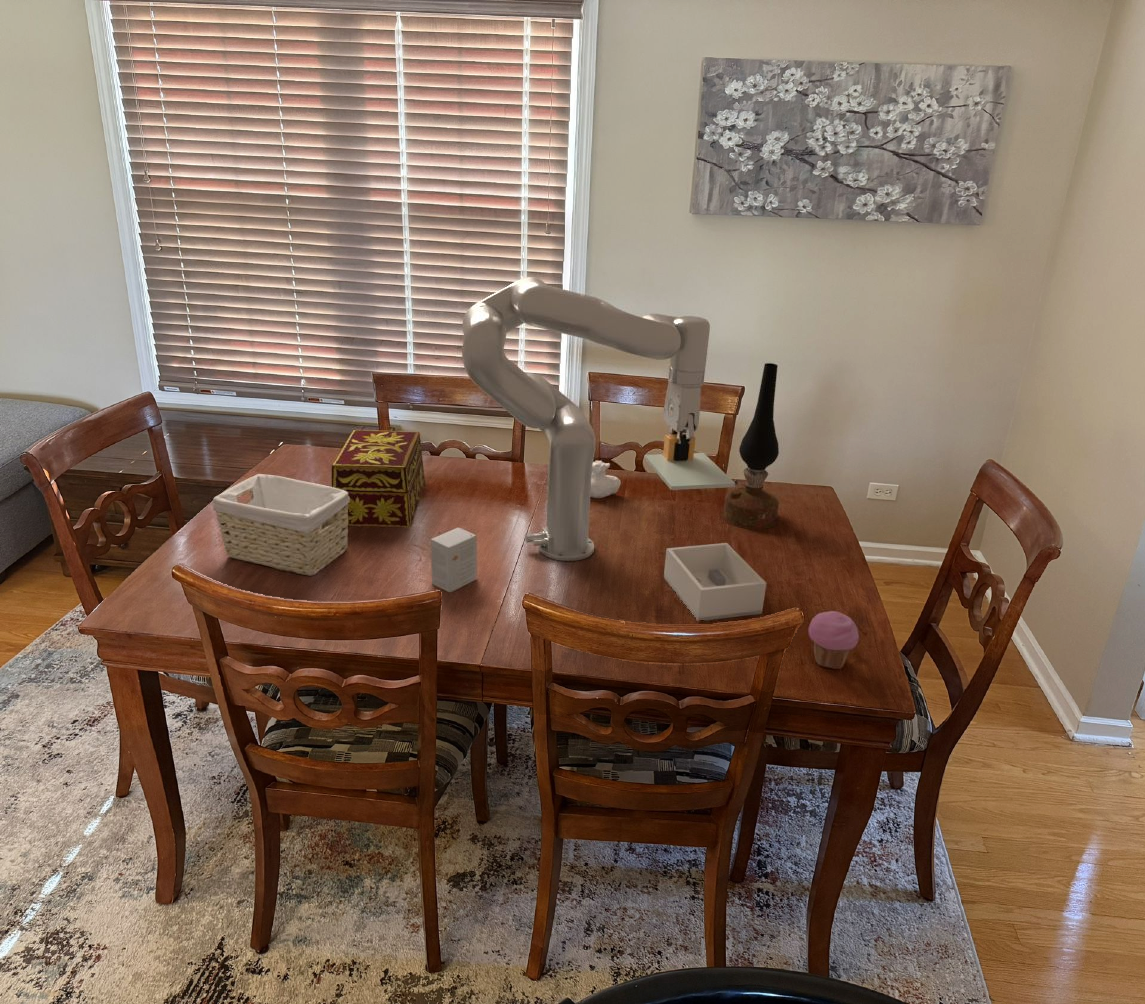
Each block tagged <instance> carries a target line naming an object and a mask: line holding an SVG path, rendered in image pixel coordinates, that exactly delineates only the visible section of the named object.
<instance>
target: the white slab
mask: <svg viewBox="0 0 1145 1004" xmlns="http://www.w3.org/2000/svg"><path fill="white" fill-rule="evenodd" d="M683 434H684V433H683ZM683 434H682V435H683ZM675 443H677V434H670V435H669V434H664V442H663V451H662V453H659V454H644V456H643V459H644V460H645V461H646V462H647V464H648V465H649V466H650V467H651V469H653V470H654V472H655V473H656V475H658V476H659V477H660V479H661V480H662V481H663V482H664V483H665V484H666V486H667V487H668V488H669V489H670V490H671V491H678V490H679V491H680V490H697V489H701V490H702V489H717V488H718V489H719V488H722V489H727V488H735V487H736V485H735V483H734V481H733V479H731V478H730V476H728V475H727V474H726V473H725V471H723V470H722V469H721V468H720V467H719V466H718V465H717V464H716V463H715V462H714V461H712V460H711V458H709V457H708V456H707V454H706V453H704V452H695V446H696V437H695V436H694V438H693V439H691V443H690V446H689V455H688V460H680V461H675V460H674V449H675Z"/></svg>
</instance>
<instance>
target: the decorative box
mask: <svg viewBox="0 0 1145 1004" xmlns="http://www.w3.org/2000/svg"><path fill="white" fill-rule="evenodd" d="M421 441H422V439H421V432H420V431H413V430H412V431H408V430H406V431H405V430H376V429H375V430H374V429H373V430H369V429H354V430H352V432H351V433H350V435H349V437H348V438H347V440H346V441H345V443H344V444H343V446H342V448H341V450H340V451H339V453H338V455H337V456H336V458H335V459H334V461H333V463H332V465H331V487H333V488H337V489H341V490H344V491H346V492H348V496H349V498H350V502H349V503H348V513H347V514H348V518H347V519H348V527H373V528H374V527H377V528H378V527H379V528H380V527H381V528H382V527H384V528H411V527H412V524H413V523H414V522H413V521H414V519H415V515H416V513H417V509H418V506H419V503H420V500H421V497H422V494H423V491H424V487H425V485H426V484H425V483H426V477H425V469H424V459H423V451H422V449H423V448H422V442H421Z"/></svg>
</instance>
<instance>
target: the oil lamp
mask: <svg viewBox="0 0 1145 1004" xmlns="http://www.w3.org/2000/svg"><path fill="white" fill-rule="evenodd" d="M777 374H778V364H776V363H771V362H769V363H764V365H763V371H762V376H761V381H760V386H759V387H760V388H759V393H758V398H757V403H756V407H755V411H754V415H753V418H752V420H751V422H750V424H749V426H748V429H747V431H746V432H745V435H744V436H743V437H742V439H741V442H740V445H739V455H740V459H741V460H742V461H743V462H744V463H745V464H746V466H747V467H746V468H744V469H743V471H742V472H743V476H744V478H745V482H744V484H743V483H740V482H739V481H738V479H735V480H734V481H733V482H734V483H735V486H737V485H741V486H743V487H740V488H736V489H733V490H730V491H728V492H727V493H726V494H725V498H724V505H723V510H722V513H721V515H722V518H723V519H724V520H725V521H726V522H728V523H729V524H732V525H734V526H736V527H739V528H744V529H750V530H751V529H752V530H763V529H769V528H772V527H774V526H775V525H776V524H777V522H778V511H779V504H780V503H779V500H778V499H777V497H776V496H775V495H773V494H772V493H770V492H768V491H766V490H764V483H765V480H766V479H767V478H768V476H769V472H768V471H767V470H766V469H767V468H768V467H770V466H771V465H772V464H774V463H775V462H776V460H777V459H778V456H779V452H780V451H779V450H780V449H779V441H778V438H777V434H776V427H775V420H774V411H775V395H776V386H777Z"/></svg>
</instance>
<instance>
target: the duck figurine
mask: <svg viewBox="0 0 1145 1004" xmlns="http://www.w3.org/2000/svg"><path fill="white" fill-rule="evenodd" d="M610 466H611V463H609V462H608V463H607V462H606V463H605V462H603V461H602V460H595V461H593V465H592V475H591V493H590V498H595V499H601V498H602V499H603V498H605V497H608V496H610V495H613V494H616V493H617V492H618V490H619V488H620V486H621V484H622V482H621V480H620V478H618V477H616V476H614V475H608V474H607V472H606V470H607V469H609V468H610Z"/></svg>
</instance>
